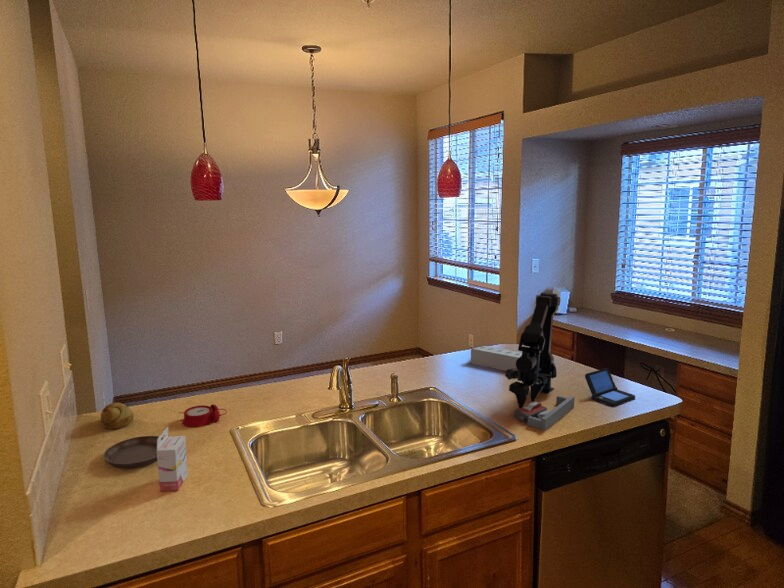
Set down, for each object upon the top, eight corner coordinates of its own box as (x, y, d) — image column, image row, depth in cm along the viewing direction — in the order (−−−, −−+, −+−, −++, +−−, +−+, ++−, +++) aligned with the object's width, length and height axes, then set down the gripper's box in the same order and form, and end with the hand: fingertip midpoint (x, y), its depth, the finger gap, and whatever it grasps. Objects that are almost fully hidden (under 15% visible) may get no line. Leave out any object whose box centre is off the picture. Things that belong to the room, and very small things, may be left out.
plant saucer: (159, 438, 164) (158, 429, 164) (178, 459, 151) (178, 449, 151) (98, 456, 153) (97, 447, 152) (113, 480, 140) (112, 470, 139)
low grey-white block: (543, 368, 233) (544, 352, 232) (532, 377, 222) (533, 360, 220) (484, 356, 251) (484, 341, 249) (470, 364, 239) (471, 348, 238)
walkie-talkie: (531, 427, 172) (564, 412, 184) (531, 414, 171) (565, 400, 184) (510, 418, 179) (544, 404, 191) (510, 406, 178) (544, 393, 190)
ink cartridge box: (178, 491, 134) (174, 439, 131) (159, 492, 134) (154, 440, 131) (188, 474, 143) (185, 425, 140) (170, 475, 142) (166, 425, 139)
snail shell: (99, 420, 177) (96, 399, 176) (130, 414, 183) (127, 392, 181) (103, 434, 167) (101, 411, 166) (136, 426, 173) (134, 404, 171)
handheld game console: (613, 408, 189) (615, 384, 187) (581, 396, 199) (583, 374, 198) (636, 398, 197) (638, 376, 196) (605, 388, 208) (607, 366, 206)
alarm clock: (177, 409, 178) (220, 393, 184) (182, 425, 180) (225, 408, 186) (179, 420, 169) (224, 403, 175) (185, 437, 171) (229, 419, 176)
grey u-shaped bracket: (557, 402, 193) (558, 392, 192) (574, 406, 189) (574, 396, 188) (527, 425, 173) (528, 414, 172) (544, 430, 169) (545, 419, 169)
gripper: (522, 353, 196) (519, 391, 199) (497, 364, 182) (494, 405, 185) (550, 361, 188) (545, 400, 191) (526, 373, 175) (521, 415, 178)
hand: (526, 405), depth 187 cm, fingers open, 9 cm apart
